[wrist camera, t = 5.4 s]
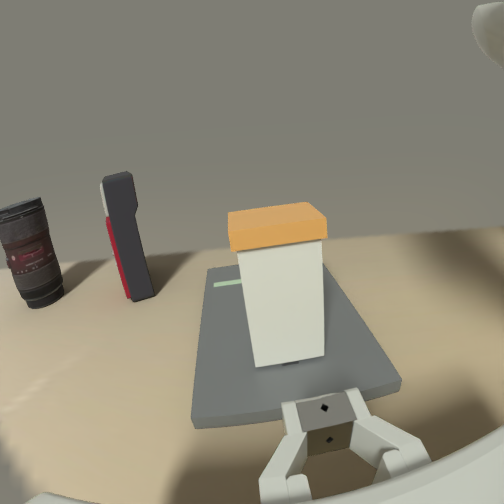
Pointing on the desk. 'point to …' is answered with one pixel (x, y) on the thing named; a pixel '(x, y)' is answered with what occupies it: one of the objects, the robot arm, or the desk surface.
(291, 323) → the fader knob
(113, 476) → the desk surface
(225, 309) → the fader console
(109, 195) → the calculator
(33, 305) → the camera lens
